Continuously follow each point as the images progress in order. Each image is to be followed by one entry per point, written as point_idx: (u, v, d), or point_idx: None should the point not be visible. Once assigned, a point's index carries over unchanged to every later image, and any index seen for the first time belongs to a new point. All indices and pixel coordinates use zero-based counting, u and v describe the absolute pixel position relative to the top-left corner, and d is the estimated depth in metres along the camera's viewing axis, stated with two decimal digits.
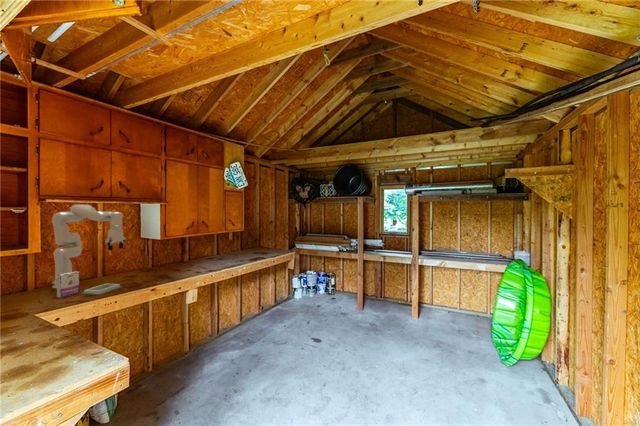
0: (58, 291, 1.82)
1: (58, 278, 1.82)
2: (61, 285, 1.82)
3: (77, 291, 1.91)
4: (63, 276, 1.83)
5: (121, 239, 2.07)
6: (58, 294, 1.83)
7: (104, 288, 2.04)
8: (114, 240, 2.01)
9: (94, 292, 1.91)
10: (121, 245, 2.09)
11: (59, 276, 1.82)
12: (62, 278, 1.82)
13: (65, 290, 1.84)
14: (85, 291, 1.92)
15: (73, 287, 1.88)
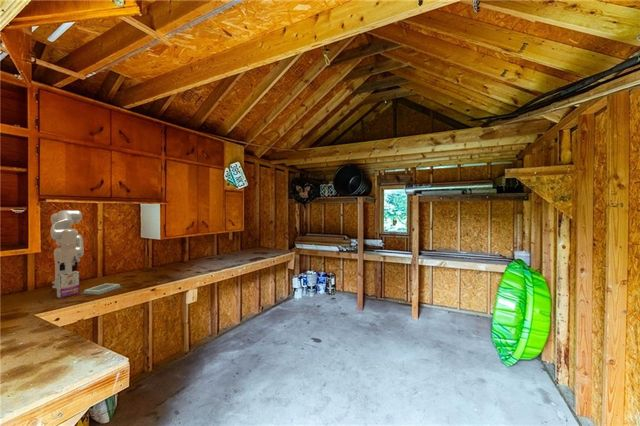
0: (58, 291, 1.82)
1: (58, 278, 1.82)
2: (61, 285, 1.82)
3: (77, 291, 1.91)
4: (63, 276, 1.83)
5: None
6: (58, 294, 1.83)
7: (104, 288, 2.04)
8: None
9: (94, 292, 1.91)
10: (63, 266, 1.88)
11: (59, 276, 1.82)
12: (62, 278, 1.82)
13: (65, 290, 1.84)
14: (85, 291, 1.92)
15: (73, 287, 1.88)
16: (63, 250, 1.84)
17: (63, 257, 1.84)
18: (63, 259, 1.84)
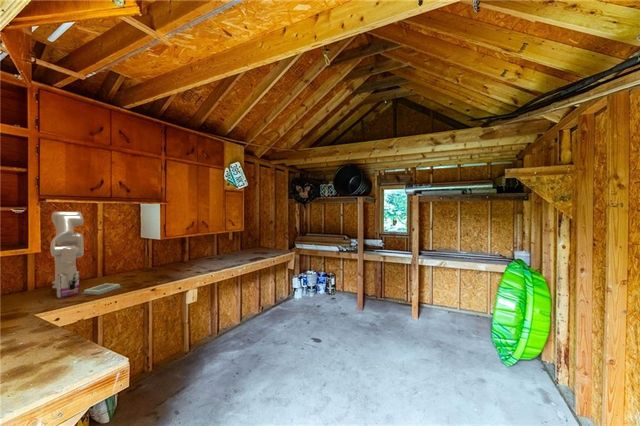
0: (58, 291, 1.82)
1: (58, 278, 1.82)
2: (61, 285, 1.82)
3: (77, 291, 1.91)
4: (63, 276, 1.83)
5: None
6: (58, 294, 1.83)
7: (104, 288, 2.04)
8: None
9: (94, 292, 1.91)
10: None
11: (59, 275, 1.82)
12: (62, 278, 1.82)
13: (65, 290, 1.84)
14: (85, 291, 1.92)
15: None
16: (63, 268, 1.85)
17: None
18: None
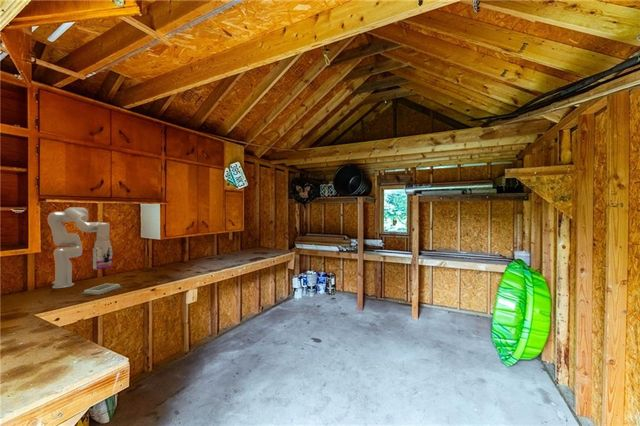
0: (94, 263, 1.95)
1: (94, 251, 1.95)
2: (97, 258, 1.95)
3: (110, 264, 2.04)
4: (99, 249, 1.96)
5: None
6: (94, 266, 1.95)
7: (104, 288, 2.04)
8: None
9: (94, 292, 1.91)
10: None
11: (95, 248, 1.95)
12: (98, 250, 1.95)
13: (100, 262, 1.97)
14: (85, 291, 1.92)
15: None
16: (98, 242, 1.97)
17: None
18: None
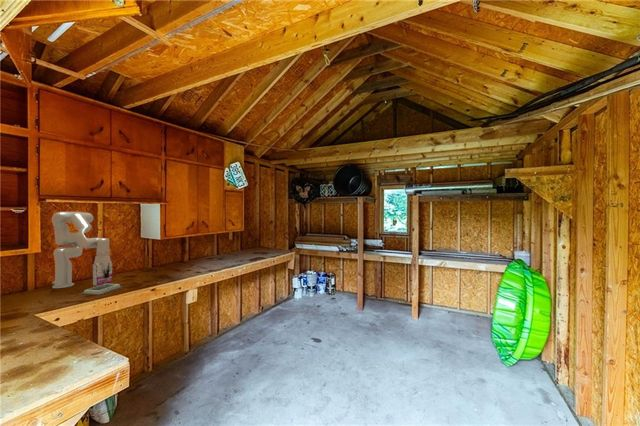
0: (94, 279, 1.95)
1: (94, 267, 1.95)
2: (97, 274, 1.95)
3: (110, 279, 2.04)
4: (99, 265, 1.96)
5: None
6: (94, 282, 1.95)
7: (104, 288, 2.04)
8: None
9: (94, 292, 1.91)
10: None
11: (95, 265, 1.95)
12: (98, 266, 1.95)
13: (100, 278, 1.97)
14: (85, 291, 1.92)
15: None
16: (98, 257, 1.98)
17: None
18: None
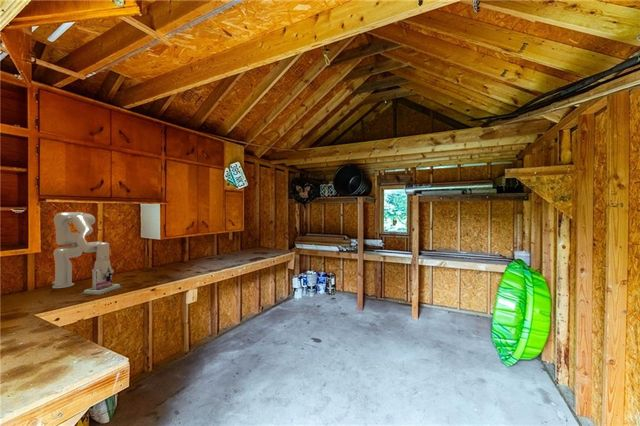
0: (94, 285, 1.95)
1: (94, 273, 1.95)
2: (97, 280, 1.95)
3: (110, 285, 2.04)
4: (99, 271, 1.96)
5: None
6: (94, 288, 1.95)
7: None
8: None
9: (94, 292, 1.91)
10: None
11: (95, 271, 1.95)
12: (97, 273, 1.95)
13: (100, 284, 1.97)
14: (85, 291, 1.92)
15: (106, 282, 2.01)
16: (98, 262, 1.98)
17: (98, 268, 1.98)
18: None
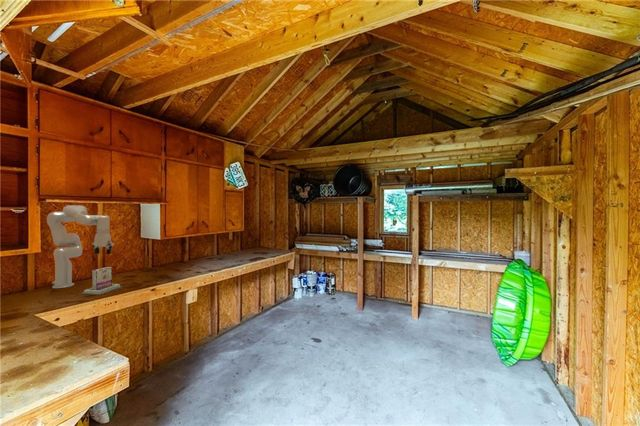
0: (94, 285, 1.95)
1: (94, 273, 1.95)
2: (97, 280, 1.95)
3: (110, 285, 2.04)
4: (99, 271, 1.96)
5: None
6: (94, 288, 1.95)
7: None
8: None
9: (94, 292, 1.91)
10: (98, 250, 2.01)
11: (95, 271, 1.95)
12: (97, 273, 1.95)
13: (100, 284, 1.97)
14: (85, 291, 1.92)
15: (106, 282, 2.01)
16: (98, 235, 1.97)
17: (98, 241, 1.97)
18: (98, 243, 1.97)
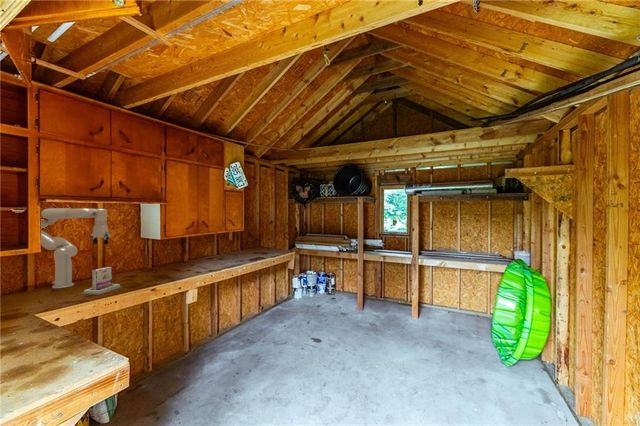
0: (94, 285, 1.95)
1: (94, 273, 1.95)
2: (97, 280, 1.95)
3: (110, 285, 2.04)
4: (99, 271, 1.96)
5: None
6: (94, 288, 1.95)
7: None
8: None
9: (94, 292, 1.91)
10: (96, 240, 2.17)
11: (94, 271, 1.95)
12: (97, 273, 1.95)
13: (100, 284, 1.97)
14: (85, 291, 1.92)
15: (106, 282, 2.01)
16: (96, 226, 2.14)
17: (96, 232, 2.14)
18: (97, 234, 2.14)
